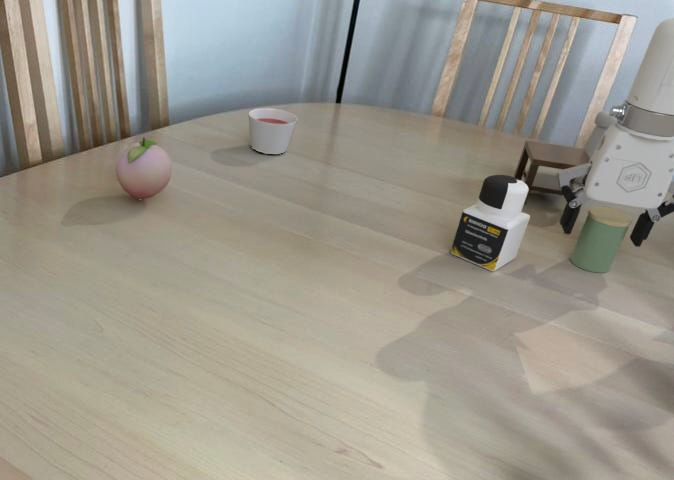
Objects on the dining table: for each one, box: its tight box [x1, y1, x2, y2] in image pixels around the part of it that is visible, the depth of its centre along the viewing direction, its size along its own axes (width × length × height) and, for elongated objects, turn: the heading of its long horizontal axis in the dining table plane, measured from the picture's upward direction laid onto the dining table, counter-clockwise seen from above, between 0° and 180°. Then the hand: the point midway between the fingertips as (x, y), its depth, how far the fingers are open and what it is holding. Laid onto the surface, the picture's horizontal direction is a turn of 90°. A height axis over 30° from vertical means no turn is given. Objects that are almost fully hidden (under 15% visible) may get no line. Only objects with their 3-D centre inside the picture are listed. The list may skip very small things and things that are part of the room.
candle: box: [248, 107, 298, 154], centre depth 139 cm, size 9×9×6 cm
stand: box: [513, 139, 590, 210], centre depth 130 cm, size 10×10×8 cm
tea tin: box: [569, 205, 633, 274], centre depth 109 cm, size 6×6×8 cm
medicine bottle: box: [450, 174, 531, 273], centre depth 107 cm, size 7×7×12 cm
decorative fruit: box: [115, 137, 173, 200], centre depth 114 cm, size 9×8×10 cm
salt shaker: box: [574, 110, 618, 184], centre depth 137 cm, size 6×6×13 cm
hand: (599, 236), depth 109 cm, fingers open, 9 cm apart
